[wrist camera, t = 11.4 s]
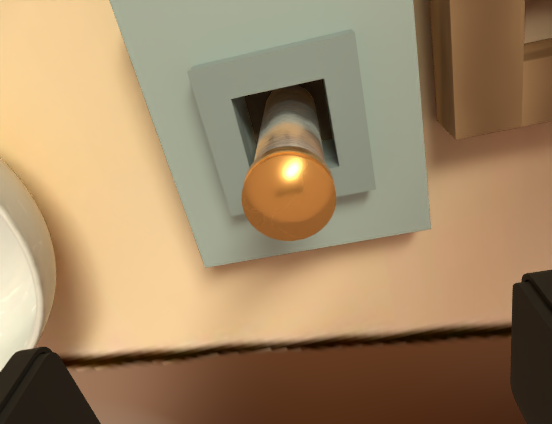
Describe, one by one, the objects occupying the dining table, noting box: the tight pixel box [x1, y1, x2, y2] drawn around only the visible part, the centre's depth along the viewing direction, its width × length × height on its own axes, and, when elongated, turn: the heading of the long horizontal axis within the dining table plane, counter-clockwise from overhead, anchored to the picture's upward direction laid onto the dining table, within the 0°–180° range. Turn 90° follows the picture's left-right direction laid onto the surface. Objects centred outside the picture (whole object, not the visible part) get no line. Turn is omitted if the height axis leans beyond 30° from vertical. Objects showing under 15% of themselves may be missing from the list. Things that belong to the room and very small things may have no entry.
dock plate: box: [109, 0, 431, 268], centre depth 25 cm, size 14×16×4 cm
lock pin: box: [241, 85, 336, 241], centre depth 22 cm, size 3×3×12 cm
